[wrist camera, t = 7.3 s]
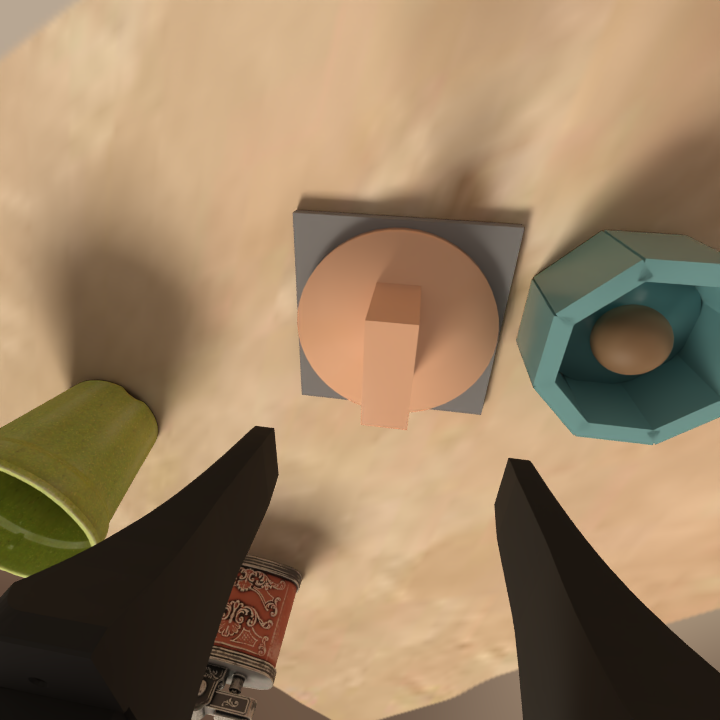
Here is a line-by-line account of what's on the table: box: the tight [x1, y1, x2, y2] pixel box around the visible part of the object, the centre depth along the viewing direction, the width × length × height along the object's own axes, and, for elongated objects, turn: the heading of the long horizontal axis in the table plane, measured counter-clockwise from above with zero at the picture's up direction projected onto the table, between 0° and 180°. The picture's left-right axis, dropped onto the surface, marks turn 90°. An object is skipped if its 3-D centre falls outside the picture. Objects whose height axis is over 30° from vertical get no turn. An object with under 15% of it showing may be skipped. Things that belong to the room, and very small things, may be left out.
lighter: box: [191, 555, 302, 720], centre depth 30 cm, size 8×3×10 cm, turn 81°
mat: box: [293, 210, 524, 415], centre depth 21 cm, size 10×10×1 cm
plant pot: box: [0, 380, 158, 578], centre depth 24 cm, size 9×9×9 cm
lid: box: [297, 228, 499, 430], centre depth 19 cm, size 10×10×5 cm
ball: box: [590, 304, 674, 375], centre depth 18 cm, size 3×3×3 cm
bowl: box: [516, 230, 720, 445], centre depth 18 cm, size 8×8×4 cm
